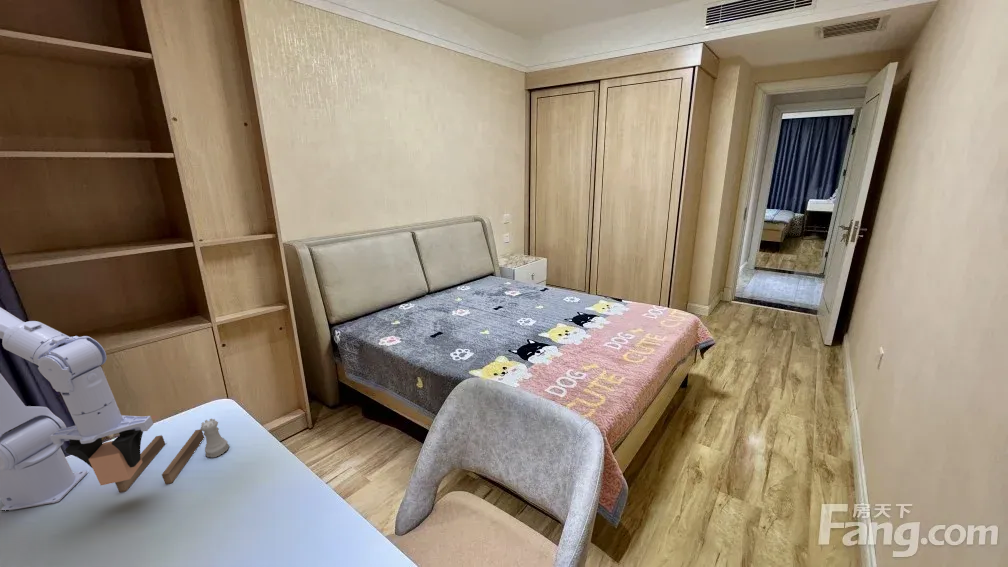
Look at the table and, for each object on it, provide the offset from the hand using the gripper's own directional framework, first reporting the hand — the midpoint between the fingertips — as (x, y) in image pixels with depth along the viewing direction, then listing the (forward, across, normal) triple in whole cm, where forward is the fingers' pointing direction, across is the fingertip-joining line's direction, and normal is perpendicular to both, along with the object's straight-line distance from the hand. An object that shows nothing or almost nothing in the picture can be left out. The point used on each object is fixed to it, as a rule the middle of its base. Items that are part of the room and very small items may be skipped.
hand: (119, 465), depth 76 cm
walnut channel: (+9, 0, +10) cm, 14 cm away
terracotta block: (+2, 0, 0) cm, 2 cm away
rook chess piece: (+9, +10, +12) cm, 18 cm away
